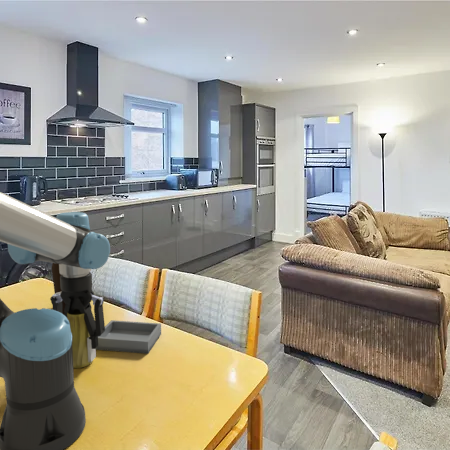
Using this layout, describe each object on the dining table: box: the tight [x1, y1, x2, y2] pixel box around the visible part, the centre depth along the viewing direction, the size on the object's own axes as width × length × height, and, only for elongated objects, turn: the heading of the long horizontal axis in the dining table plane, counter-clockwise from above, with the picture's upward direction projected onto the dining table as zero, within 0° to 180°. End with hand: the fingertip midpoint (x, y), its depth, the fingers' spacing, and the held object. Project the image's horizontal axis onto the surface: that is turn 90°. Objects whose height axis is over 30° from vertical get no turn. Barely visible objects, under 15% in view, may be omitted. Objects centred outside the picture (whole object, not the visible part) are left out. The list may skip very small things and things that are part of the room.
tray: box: [96, 319, 162, 355], centre depth 109 cm, size 12×16×4 cm
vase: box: [67, 309, 93, 369], centre depth 96 cm, size 6×6×14 cm
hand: (80, 358), depth 97 cm, fingers closed on vase, 6 cm apart
